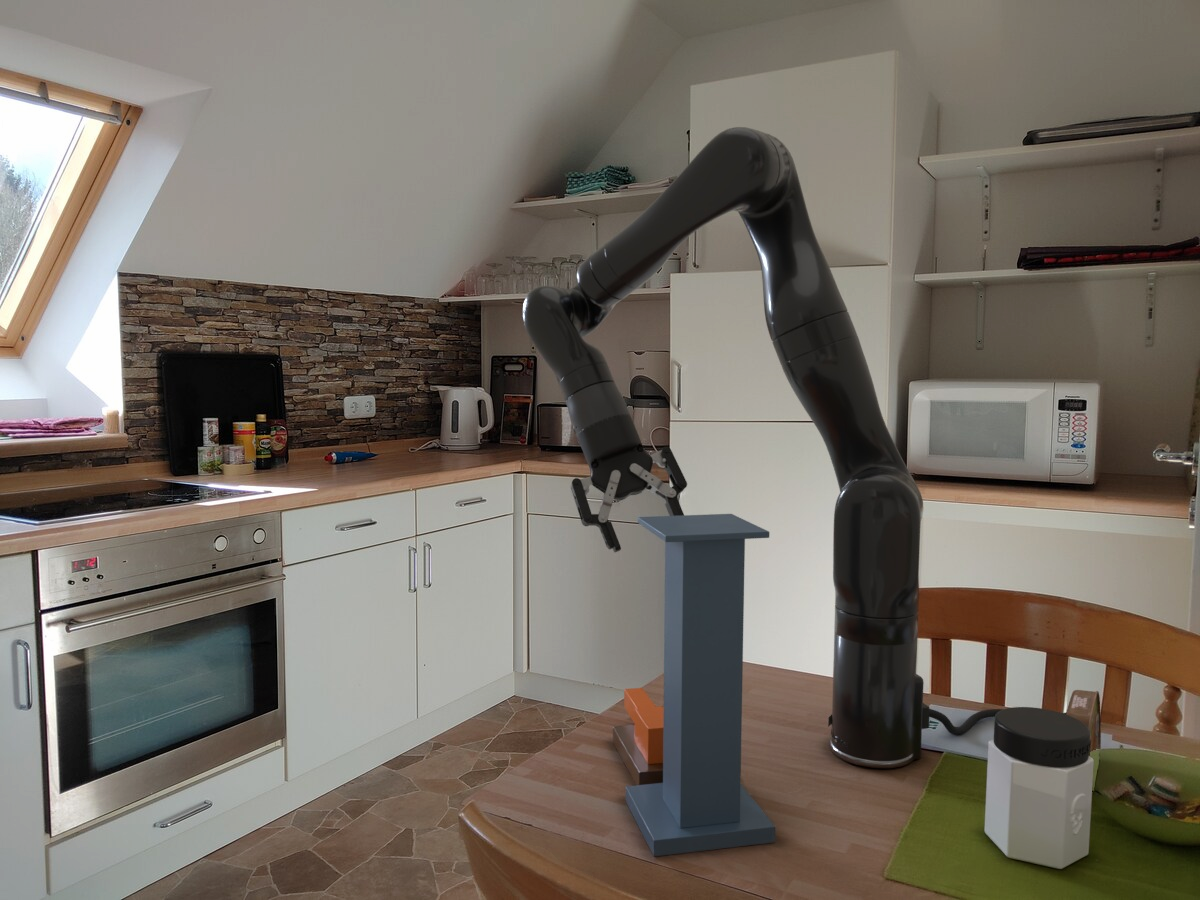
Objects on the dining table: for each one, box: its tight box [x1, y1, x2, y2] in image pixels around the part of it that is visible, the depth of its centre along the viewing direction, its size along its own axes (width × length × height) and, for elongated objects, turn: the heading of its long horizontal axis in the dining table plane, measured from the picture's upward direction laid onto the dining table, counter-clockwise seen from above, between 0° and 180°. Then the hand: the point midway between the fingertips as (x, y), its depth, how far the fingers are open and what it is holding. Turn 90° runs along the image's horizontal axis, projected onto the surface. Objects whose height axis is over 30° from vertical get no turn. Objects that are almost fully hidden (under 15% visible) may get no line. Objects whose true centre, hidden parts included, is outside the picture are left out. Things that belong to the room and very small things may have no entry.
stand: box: [625, 513, 776, 857], centre depth 90 cm, size 12×11×30 cm
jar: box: [983, 706, 1094, 870], centre depth 87 cm, size 9×8×12 cm
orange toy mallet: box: [623, 687, 664, 764], centre depth 108 cm, size 5×16×4 cm, turn 12°
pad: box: [612, 724, 663, 786], centre depth 105 cm, size 9×12×2 cm
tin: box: [1065, 689, 1102, 756], centre depth 102 cm, size 15×3×8 cm, turn 148°
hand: (649, 539), depth 117 cm, fingers open, 8 cm apart
